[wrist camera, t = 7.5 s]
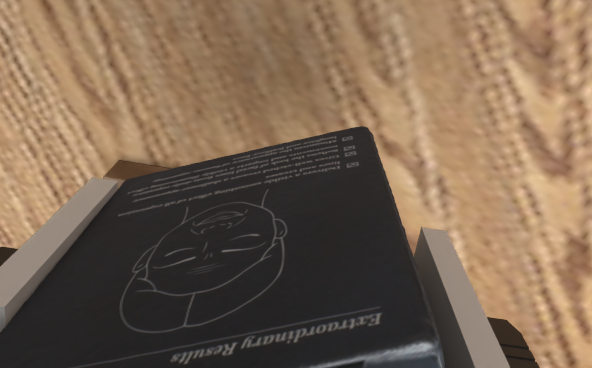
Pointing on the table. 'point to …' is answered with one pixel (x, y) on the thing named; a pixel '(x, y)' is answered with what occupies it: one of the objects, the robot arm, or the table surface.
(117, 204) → the box
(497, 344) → the robot arm
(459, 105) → the table surface
